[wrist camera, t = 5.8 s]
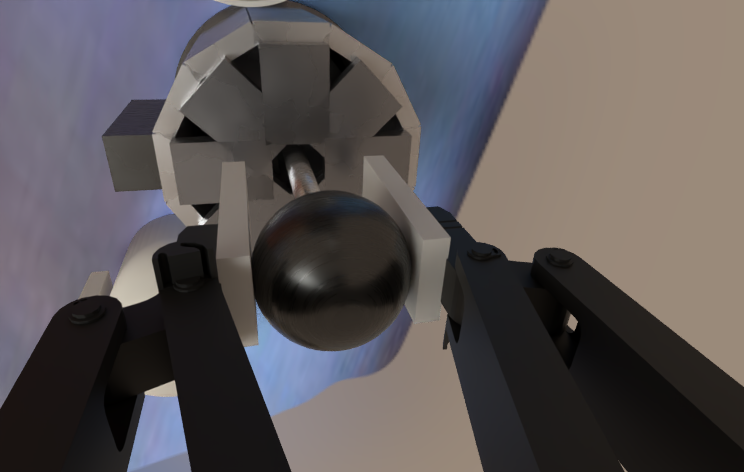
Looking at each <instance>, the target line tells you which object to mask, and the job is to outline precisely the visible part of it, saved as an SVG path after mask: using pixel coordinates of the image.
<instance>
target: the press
mask: <svg viewBox="0 0 744 472" xmlns="http://www.w3.org/2000/svg"><path fill="white" fill-rule="evenodd" d="M256 45H258V50H259V64H260V78H261V88H260V87H258V86H257V85H256V84H255V83H254V82H253V81H252V80H251V79H250V78H249V77H248V76H247V75H246V74H244V73H243V72H242V71H241V70H240V69H239V68H238V67H237V66H236V65H235V64H234V63H233V62H232V60H234V59H235V58H237V57H238V56H240V55H242V54H243V53H245V52H246V51H248V50H250V49H251V48H253V47H255V46H256ZM330 59H331V60H332V61H333V62H334V63H335V64H336V66H337V67H338V68H339V70H340V71H341V74H340V75H339V76H338V77H337V78H336V79H335V80H334V81H333V82H332V83H331V84H330ZM420 125H421V124H420V122H419V119H418V117H417V115H416V113H415V111H414V109H413V106H412V104H411V102H410V100H409V98H408V96H407V93H406V91H405V89H404V87H403V85H402V83H401V80H400V78H399V76H398V74H397V72H396V70H395V67H394V65H392V63H390V62H389V61H387V60H386V59H384V58H383V57H381V56H380V55H378V54H377V53H375V52H374V51H372V50H371V49H369V48H368V47H366V46H365V45H363V44H362V43H360V42H359V41H357V40H356V39H354V38H353V37H351V36H350V35H348V34H347V33H345V32H344V31H343V30H342V29H341V28H340V27H339V26H338V25H337V24H336V23H334V22H333V21H332V20H331V19H329V18H328V17H327V16H325V15H323V14H322V13H320V12H318V11H316V10H315V9H312V8H310V7H307V6H305V5H303V4H300V3H297V2H293V1H289V0H286V1H283V2H280V3H277V4H273V5H269V6H262V7H241V6H234V5H231V6H229V7H227V8H225V9H223V10H221V11H219V12H218V13H217V14H215V15H214V16H212V17H211V18H210V19H208V20H207V21H206V22H205V23H204V24H203V25H202V26H201V27H200V28H199V29H198V30H197V31H196V33H195V34H194V36H193V37H192V38H191V40H190V41H189V42H188V44H187V46H186V48H185V50H184V52H183V54H182V56H181V58H180V61H179V64H178V67H177V71H176V76H175V81H174V83H173V86H172V88H171V90H170V92H169V95H168V97H167V99H165V100H131V102H130V103H129V104H128V105H127V107H126V108H125V109H124V110H123V111H122V113H121V114H120V115H119V116H118V117H117V119H116V120H115V121H114V122H113V123H112V125H111V126H110V127H109V128H108V129H107V131H106V132H105V133H104V134H103V135H102V139H103V143H104V147H105V151H106V155H107V159H108V164H109V168H110V172H111V176H112V180H113V184H114V188H115V192H119V191H137V190H156V189H162V191H163V196H164V201H165V202H166V205H167V206H168V207H169V208H170V209H171V210H172V211H173V212H174V214H175V215H176V216H177V217H178V218H179V219H180V220H181V221H182V222H183V223H184V225H185V226H186V227H187V226H194V225H208V224H218V219H219V204H220V189H221V174H222V162H240V161H245V170H246V181H247V192H248V203H249V213H250V224H251V237H252V253H253V250H254V246H255V243H256V241H257V238H258V236H259V234H260V232H261V230H262V229H263V227H264V226H265V224H266V223H267V222H268V221H269V219H270V218H271V217H272V216H273V215H274V214H275V213H276V212H277V211H278V210H279V209H280V208H281V207H283V206H284V205H286V204H287V203H289V202H290V201H292V200H294V195H293V191H292V187H291V184H290V182H281V181H280V180H278V179H277V178H276V177H275V176H274V175H273V171H272V160H273V159H274V158H275V156H276V155H277V154H278V153H279V152H280V151H281V150H282V149H283V148H284V147H285V146H286V145H287V144H310V145H311V146H312V147H314V148H315V149H316V150H317V151H318V152H319V153H320V154H321V155H322V170H320V171H319V172H317V173H315V174H314V176H315V179H316V181H317V184H318V186H319V189H320V191H325V190H339V191H346V192H350V193H354V194H358V195H360V196H362V194H363V166H364V156H378V155H383V156H384V157H385V158H386V159H387V160H388V162H389V163H390V164H391V165H392V167H393V168H394V169H395V170H396V171H397V173H398V174H399V175H400V176H401V178H402V179H403V180H404V181H405V182H406V184H407V185H408V186H409V187H410V188H411V190H412V191H413V190H414V189H415V188H414V186H416V176H417V166H418V155H419V145H420V134H421V126H420Z"/></svg>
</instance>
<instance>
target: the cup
mask: <svg viewBox="0 0 744 472" xmlns="http://www.w3.org/2000/svg"><path fill="white" fill-rule="evenodd" d="M215 1H218V2H221V3H225V4H229V5H234V6H241V7H262V6H269V5H273V4H277V3H280V2H283V1H286V0H215Z"/></svg>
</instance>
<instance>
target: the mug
mask: <svg viewBox="0 0 744 472" xmlns="http://www.w3.org/2000/svg"><path fill="white" fill-rule="evenodd" d="M185 228H186V226H185V225H184V223H183V222H182V221H181V220H180V219H179V218H178V217H177V216H176V215H175V214H170V215H166V216H162V217H159V218H157V219H154V220H152V221H151V222H149V223H147V224H146V225H144V226H143V227H142V228H141V229H140V230H139V231H138V232H137V233H136V234H135V235H134V237H133V239H132V240H131V242H130V245H129V247H128V250H127V252H126V255H125V258H124V260H123V263H122V265H121V268H120V270H119V273H118V276H117V278H116V281H115V283H114V286H113V285H112V281H111V278H110V274H109V271H101V272H91V274H90V276H89V278H88V280H87V282H86V284H85V286H84V288H83V290H82V293H81V295H80V297H79V299H81V298H84V297H90V296H95V295H108V296H111V297H114V298H117V299H118V300H119V301H120V302H121V303H122V307H126V306H130V305H133V304H137V303H140V302H143V301H145V300H148V299H150V298H152V297H154V296H156V295H157V294H158V293H159V292H158V287H157V283H156V278H155V273H154V269H153V264H152V256H153V254H154V253H155V252H156V251H157V250H158V249H159V248H161V247H163V246H165V245H167V244H169V243H173V242H177V238H178V234H180V233H181V232H182V231H183V230H184V229H185ZM79 299H78V300H79ZM145 395H151V396H161V397H174V396H178V395H177V390H176V384H175V380H174V381H172V382H169V383H166V384H164V385H161V386H159V387H156V388H153V389H151V390H148V391H146V392H145Z"/></svg>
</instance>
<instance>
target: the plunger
mask: <svg viewBox="0 0 744 472" xmlns="http://www.w3.org/2000/svg"><path fill="white" fill-rule="evenodd" d="M232 62H233V63H234V64H235V65H236V66H237V67H238V68H239V69H240V70H241V71H242V72H243V73H244V74H246V75H247V76H248V77H249V78H250V79H251V80H252V81H253V82H254V83H255V84H256V85H257V86H258V87H260V88H261V78H260V64H259V50H258V45H256V46H255V47H253V48H251V49H250V50H248V51H246V52H245V53H243V54H242V55H240V56H238V57H237V58H235V59H234V60H232ZM340 74H341V71H340V70H339V68H338V67H337V66H336V64H335V63H334V62H333V61H332V60H331V59H330V84H331V83H332V82H333V81H334V80H335V79H336V78H337V77H338V76H339V75H340ZM320 170H322V155H321V154H320V153H319V152H318V151H317V150H316V149H315V148H314V147H312V146H311V145H310V144H287V145H286V146H285V147H284V148H283V149H282V150H281V151H280V152H279V153H278V154H277V155H276V156H275V158H274V159H273V160H272V171H273V175H274V176H275V177H276V178H277V179H278V180H280V181H281V182H290V184H291V187H292V191H293V195H294V200H292V201H290V202H289V203H287V204H286V205H284V206H283V207H281V208H280V209H279V210H278V211H277V212H276V213H275V214H274V215H273V216H272V217H271V218H270V219H269V221H268V222H267V223H266V224H265V226H264V227H263V229H262V230H261V232H260V234H259V236H258V238H257V241H256V243H255V246H254V250H253V253H252V259H251V265H252V278H253V289H254V296H255V299H256V302H257V304H258V306H259V308H260V310H261V312H262V314H263V315H264V316H265V318H266V319H267V320H268V322H269V323H270V324H271V325H272V327H274V328H275V329H276V330H277V331H278V332H279V333H280V334H282V335H283V336H284V337H286V338H287V339H289V340H290V341H292V342H294V343H296V344H298V345H301V346H304V347H306V348H309V349H314V350H320V351H342V350H347V349H352V348H355V347H358V346H361V345H363V344H365V343H367V342H369V341H371V340H373V339H374V338H376V337H377V336H379V335H380V334H381V333H382V332H383V331H385V330H386V329H387V328H388V327H389V326H390V325H391V324H392V323H393V321H394V320H395V319H396V318H397V316H398V314H399V313H400V311H401V309H402V308H403V306H404V303H405V301H406V299H407V296H408V293H409V289H410V284H411V274H412V264H411V256H410V252H409V248H408V245H407V242H406V239H405V237H404V235H403V233H402V231H401V229H400V228H399V226H398V225H397V223H396V222H395V221H394V219H393V218H392V217H391V216H390V215H389V214H388V213H387V212H386V211H385V210H384V209H383V208H381V207H380V206H379V205H377V204H376V203H374V202H373V201H371V200H369V199H367V198H365V197H363V196H360V195H358V194H354V193H350V192H346V191H339V190H325V191H320V189H319V186H318V184H317V181H316V179H315V176H314V174H315V173H317V172H319V171H320Z"/></svg>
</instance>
